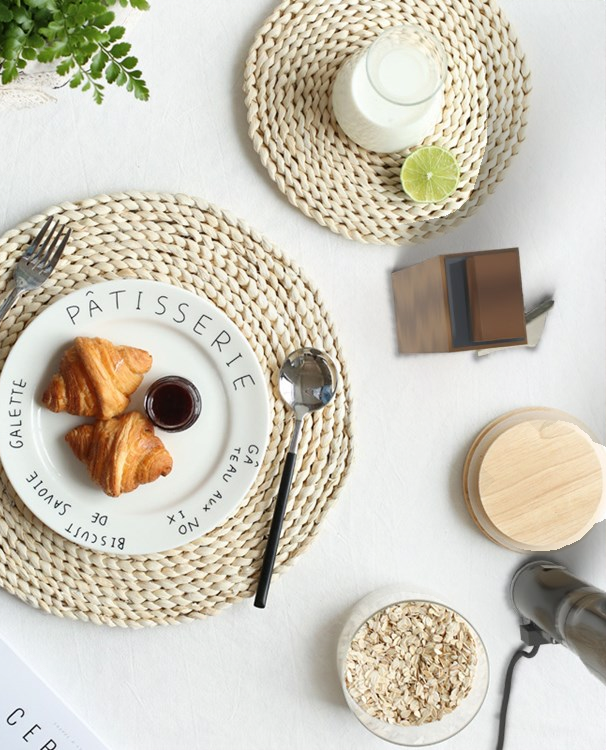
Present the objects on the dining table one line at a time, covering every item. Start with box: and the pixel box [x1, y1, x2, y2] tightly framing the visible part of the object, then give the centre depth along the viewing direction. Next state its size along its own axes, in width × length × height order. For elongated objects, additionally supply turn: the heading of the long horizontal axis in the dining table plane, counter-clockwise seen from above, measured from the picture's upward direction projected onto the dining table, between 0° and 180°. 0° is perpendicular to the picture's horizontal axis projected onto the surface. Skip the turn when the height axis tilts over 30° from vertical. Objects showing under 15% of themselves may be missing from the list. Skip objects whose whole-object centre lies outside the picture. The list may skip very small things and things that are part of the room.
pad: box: [444, 251, 525, 348], centre depth 101 cm, size 11×9×1 cm
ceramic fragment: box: [475, 299, 555, 357], centre depth 122 cm, size 14×5×4 cm, turn 120°
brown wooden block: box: [462, 252, 524, 342], centre depth 98 cm, size 10×5×4 cm, turn 6°
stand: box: [390, 246, 528, 355], centre depth 112 cm, size 12×10×22 cm
